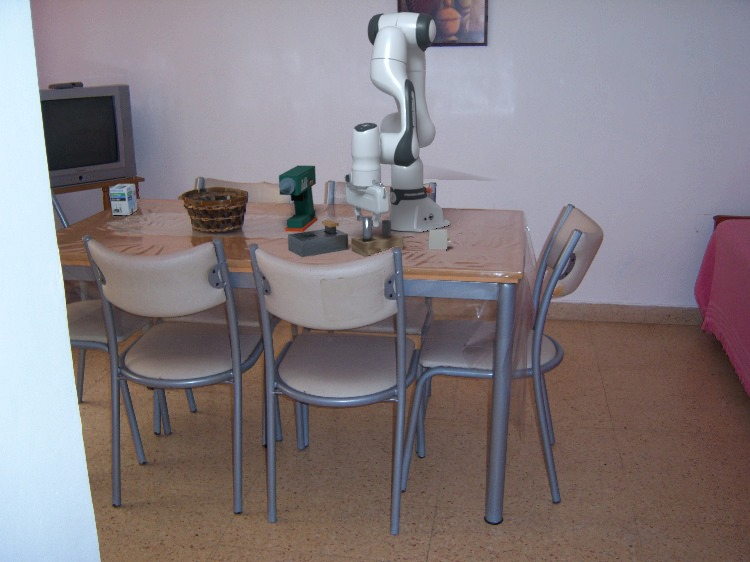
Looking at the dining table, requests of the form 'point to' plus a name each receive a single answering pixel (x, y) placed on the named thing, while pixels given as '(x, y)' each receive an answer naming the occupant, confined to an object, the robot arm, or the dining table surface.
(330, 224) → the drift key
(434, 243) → the pale grey square block
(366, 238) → the bit
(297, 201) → the power tool
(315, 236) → the socket block
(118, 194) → the light bulb box
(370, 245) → the rack
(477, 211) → the dining table surface
